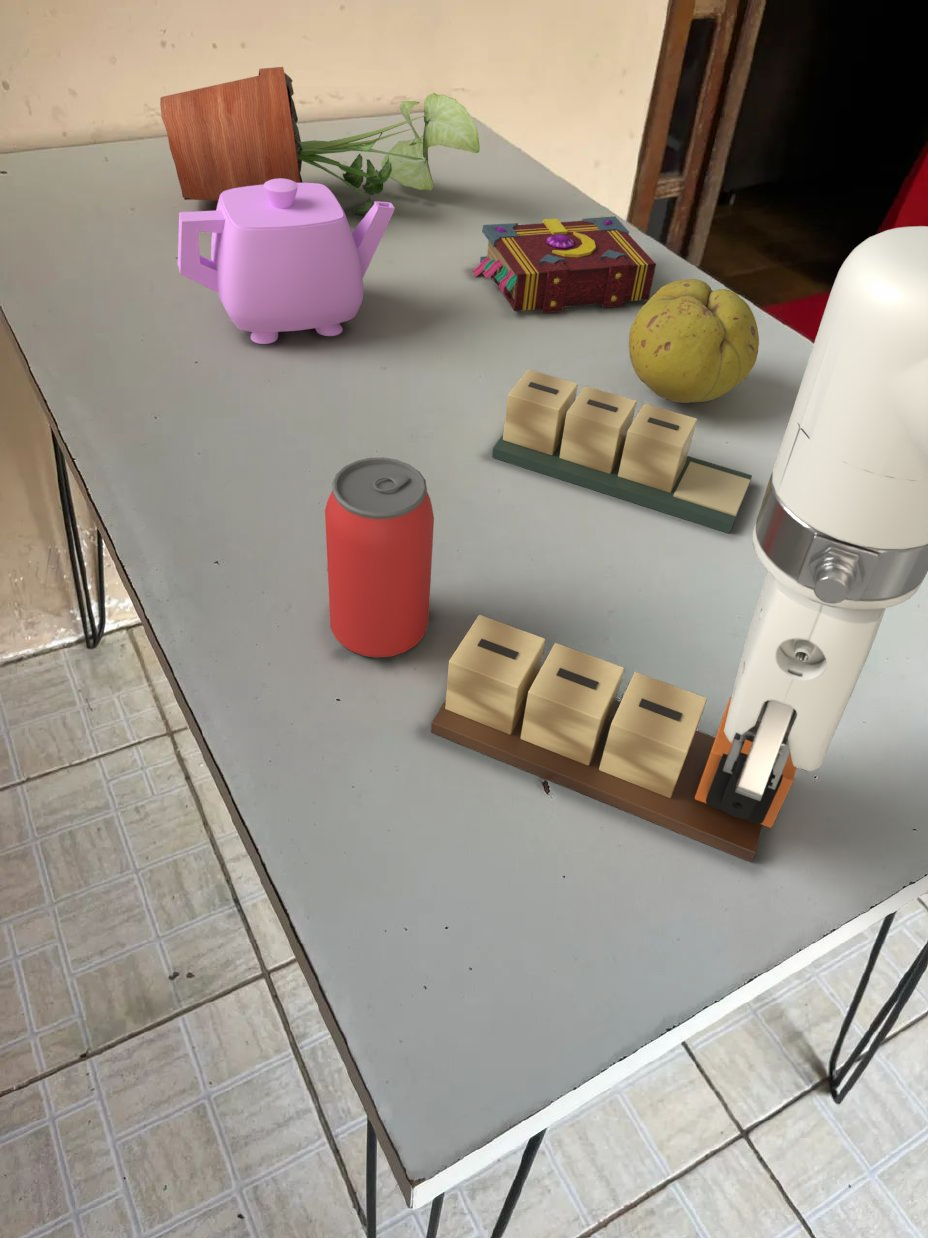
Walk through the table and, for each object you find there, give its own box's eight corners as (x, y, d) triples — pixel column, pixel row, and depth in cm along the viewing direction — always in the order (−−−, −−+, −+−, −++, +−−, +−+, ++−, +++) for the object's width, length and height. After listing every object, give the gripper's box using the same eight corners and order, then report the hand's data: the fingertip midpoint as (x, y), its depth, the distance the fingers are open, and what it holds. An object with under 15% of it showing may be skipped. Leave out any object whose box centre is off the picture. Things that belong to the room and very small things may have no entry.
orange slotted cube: (786, 770, 57) (809, 721, 54) (771, 828, 54) (793, 780, 51) (713, 744, 58) (730, 694, 55) (694, 799, 55) (711, 750, 52)
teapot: (198, 362, 87) (178, 222, 78) (177, 297, 96) (157, 163, 87) (411, 336, 93) (414, 202, 84) (374, 277, 101) (374, 149, 92)
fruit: (596, 366, 91) (615, 263, 84) (711, 357, 94) (738, 256, 87) (640, 434, 84) (665, 327, 77) (763, 422, 87) (798, 318, 80)
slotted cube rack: (749, 484, 80) (768, 428, 76) (729, 533, 75) (748, 476, 71) (523, 415, 85) (530, 359, 81) (491, 457, 80) (497, 399, 76)
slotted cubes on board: (776, 771, 59) (804, 714, 55) (751, 862, 55) (779, 807, 51) (476, 657, 64) (483, 598, 60) (430, 732, 60) (434, 672, 56)
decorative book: (650, 305, 101) (660, 258, 97) (502, 318, 97) (507, 270, 93) (608, 255, 108) (615, 210, 105) (469, 266, 104) (472, 219, 101)
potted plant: (187, 251, 106) (502, 220, 110) (152, 98, 96) (501, 69, 100) (190, 200, 117) (475, 173, 121) (159, 58, 107) (472, 34, 111)
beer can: (446, 639, 65) (457, 497, 57) (361, 677, 63) (358, 534, 54) (395, 581, 69) (398, 439, 61) (312, 614, 66) (302, 471, 58)
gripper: (914, 685, 36) (780, 927, 49) (952, 452, 47) (834, 698, 60) (716, 620, 38) (637, 869, 51) (797, 411, 49) (715, 658, 62)
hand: (745, 774), depth 55 cm, fingers closed on orange slotted cube, 4 cm apart
